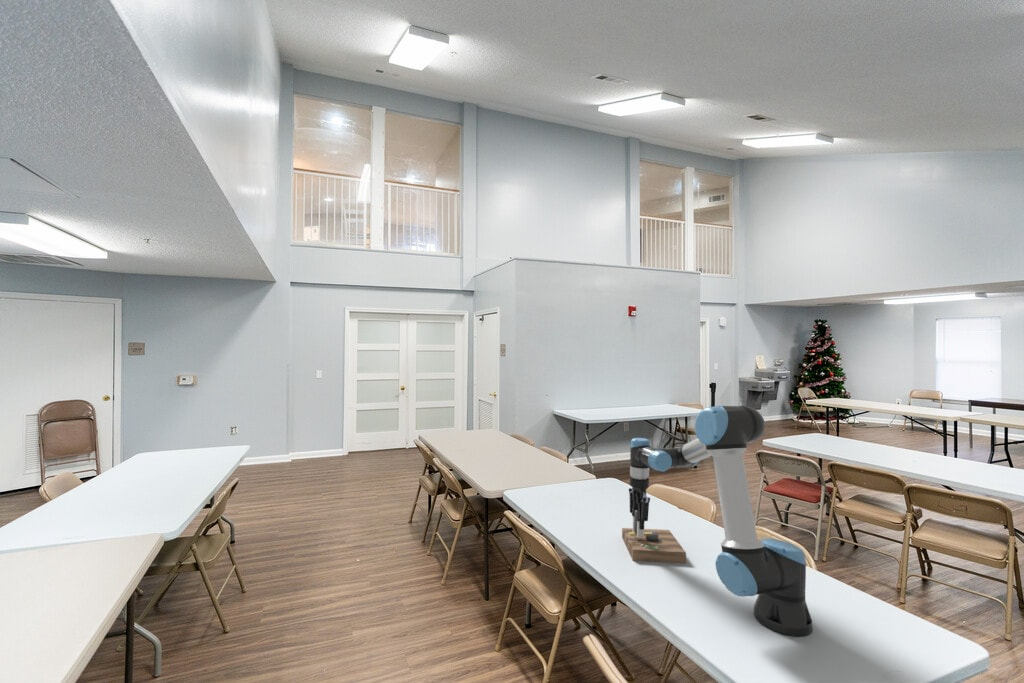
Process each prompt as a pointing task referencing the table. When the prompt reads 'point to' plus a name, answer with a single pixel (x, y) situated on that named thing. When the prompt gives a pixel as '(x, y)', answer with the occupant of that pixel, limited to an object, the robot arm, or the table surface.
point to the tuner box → (654, 547)
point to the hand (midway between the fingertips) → (638, 534)
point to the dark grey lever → (649, 536)
